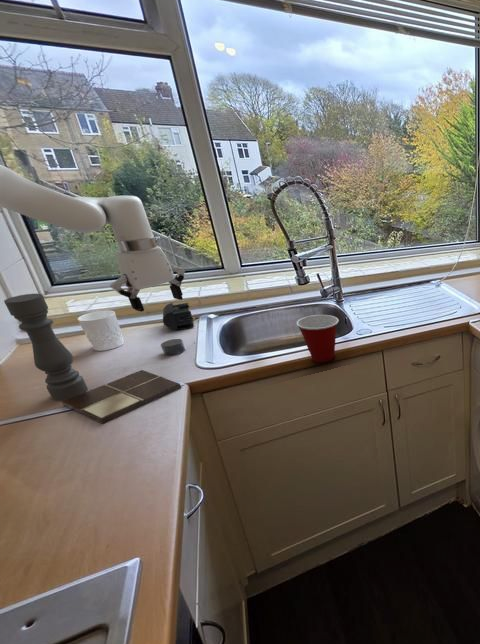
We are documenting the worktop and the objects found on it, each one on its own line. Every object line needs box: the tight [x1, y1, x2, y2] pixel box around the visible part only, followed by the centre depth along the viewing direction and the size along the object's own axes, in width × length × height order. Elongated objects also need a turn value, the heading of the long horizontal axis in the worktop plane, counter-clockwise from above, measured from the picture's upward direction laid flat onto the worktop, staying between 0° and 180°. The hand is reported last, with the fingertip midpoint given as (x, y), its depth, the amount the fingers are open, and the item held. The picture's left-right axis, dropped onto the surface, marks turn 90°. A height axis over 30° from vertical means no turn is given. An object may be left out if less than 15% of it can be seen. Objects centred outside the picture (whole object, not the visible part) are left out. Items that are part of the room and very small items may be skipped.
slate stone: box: [160, 338, 186, 356], centre depth 119 cm, size 5×5×3 cm
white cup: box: [77, 309, 125, 352], centre depth 120 cm, size 8×8×10 cm
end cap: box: [162, 302, 195, 331], centre depth 135 cm, size 10×7×7 cm
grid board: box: [61, 369, 182, 425], centre depth 98 cm, size 16×16×1 cm
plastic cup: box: [296, 314, 340, 363], centre depth 116 cm, size 11×11×12 cm
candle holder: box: [3, 293, 89, 402], centre depth 94 cm, size 6×6×25 cm
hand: (159, 304), depth 114 cm, fingers open, 9 cm apart
